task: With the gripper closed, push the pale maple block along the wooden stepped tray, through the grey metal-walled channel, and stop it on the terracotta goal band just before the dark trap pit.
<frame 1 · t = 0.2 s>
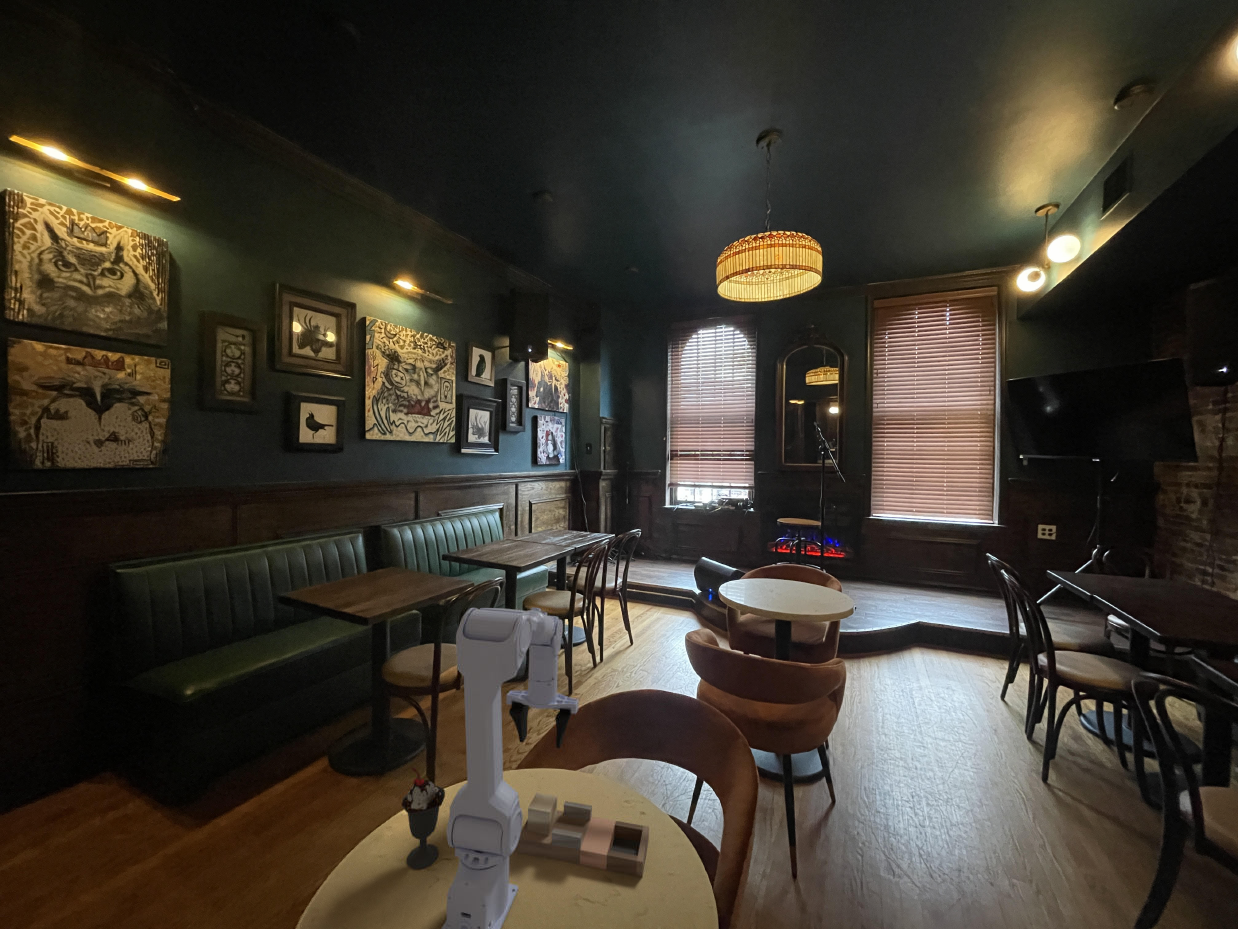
hand: (541, 742, 98), 10 cm above the table, tool pointing down, fingers open, 7 cm apart
wooden stepped tray: (584, 846, 85), on the table
block: (542, 824, 86), point 2 cm above the table, touching wooden stepped tray
sundae: (422, 858, 82), on the table
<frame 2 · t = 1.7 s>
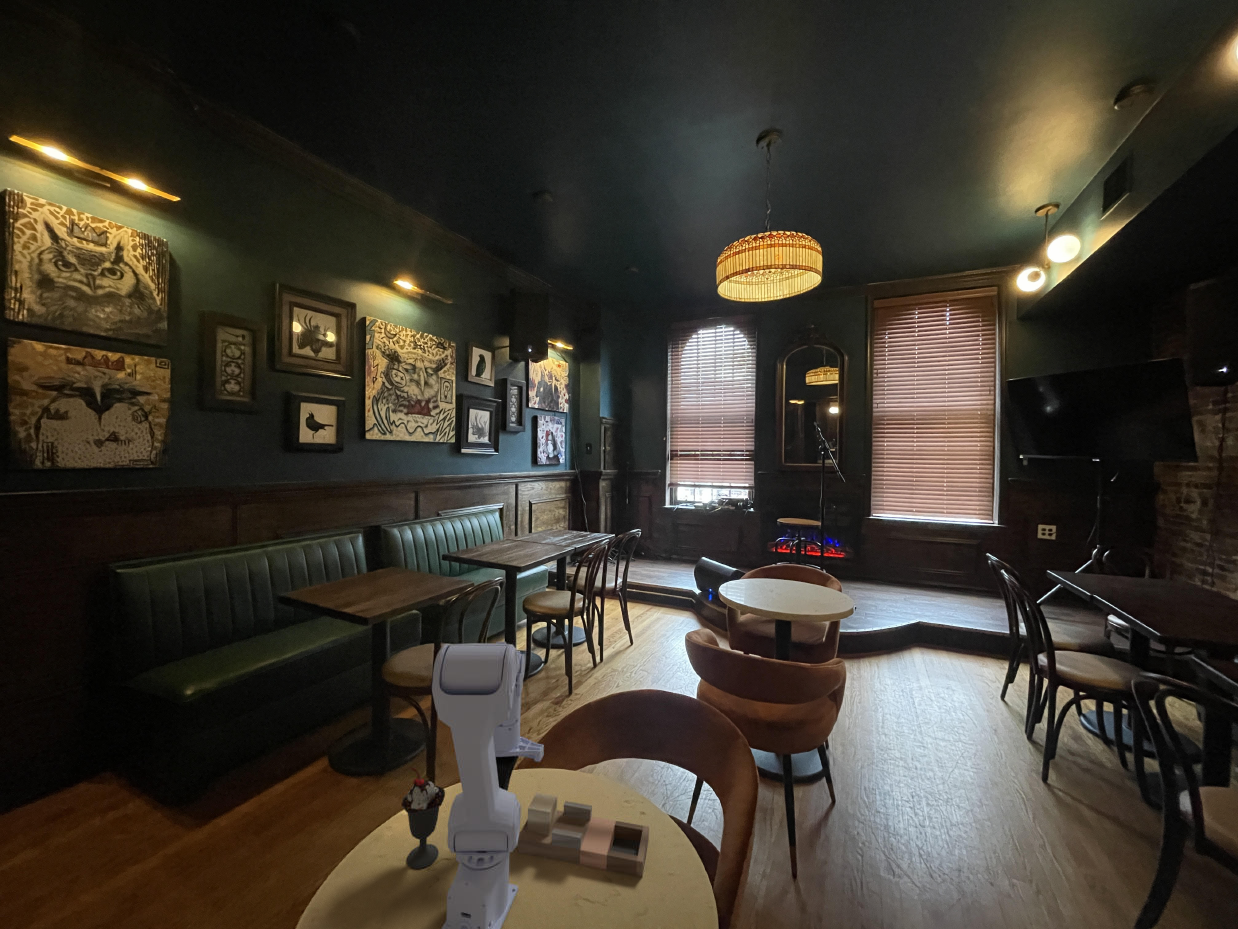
hand: (502, 792, 88), 7 cm above the table, tool pointing down, fingers closed
nothing on the table moved.
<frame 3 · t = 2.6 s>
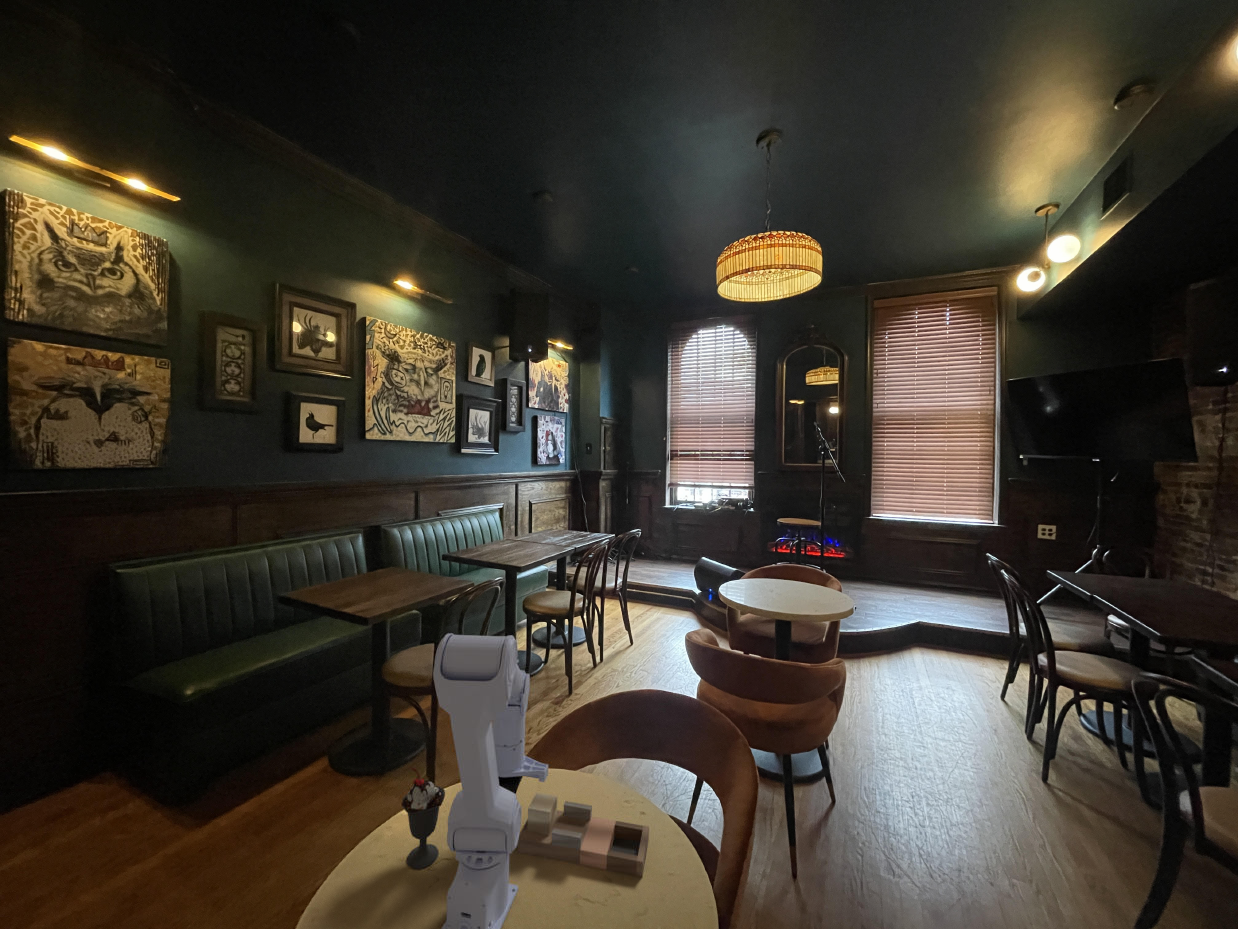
hand: (506, 812, 88), 3 cm above the table, tool pointing down, fingers closed
nothing on the table moved.
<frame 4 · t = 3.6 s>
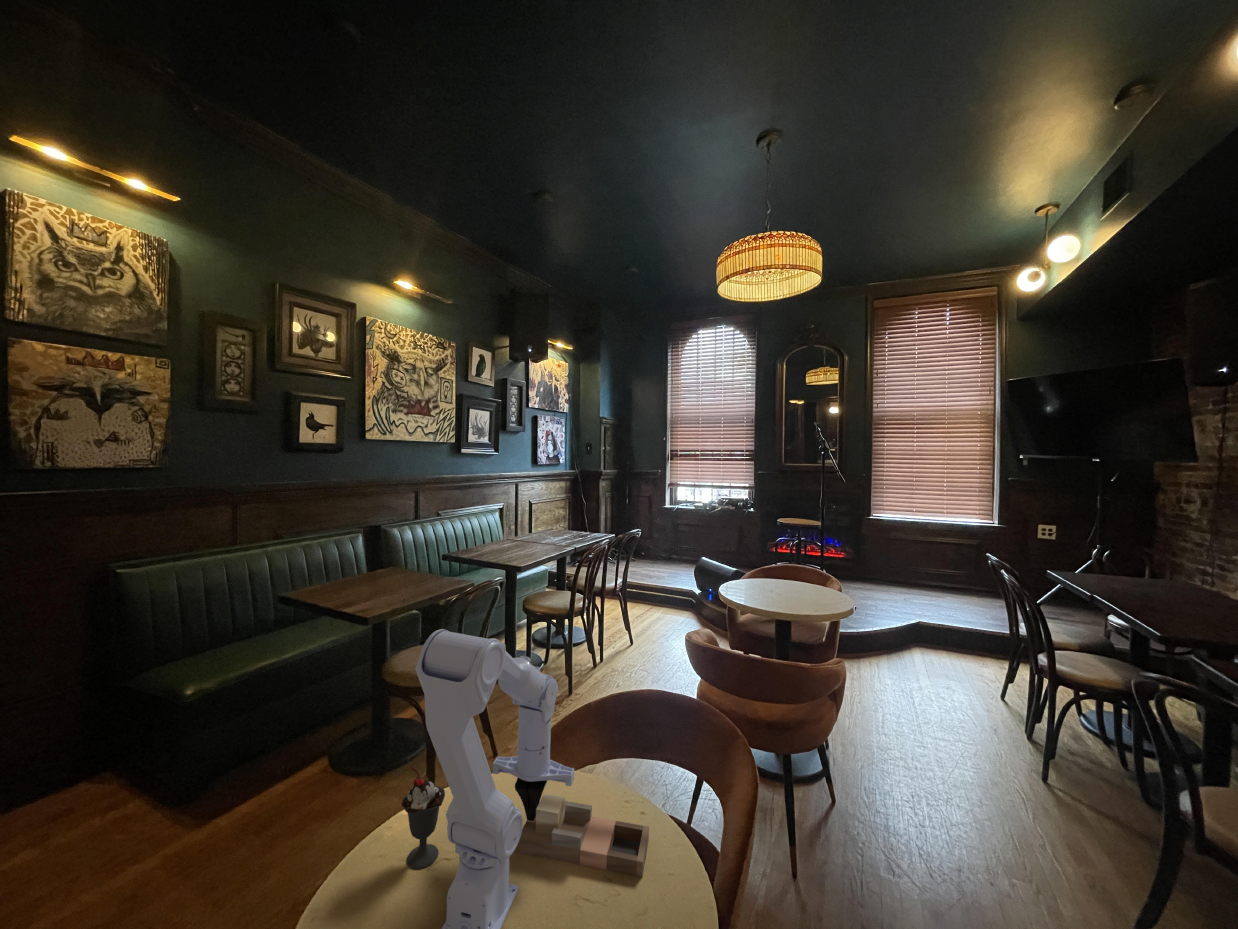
hand: (532, 816, 87), 4 cm above the table, tool pointing down, fingers closed
block: (550, 825, 86), point 2 cm above the table, touching gripper, wooden stepped tray
everything else where it was.
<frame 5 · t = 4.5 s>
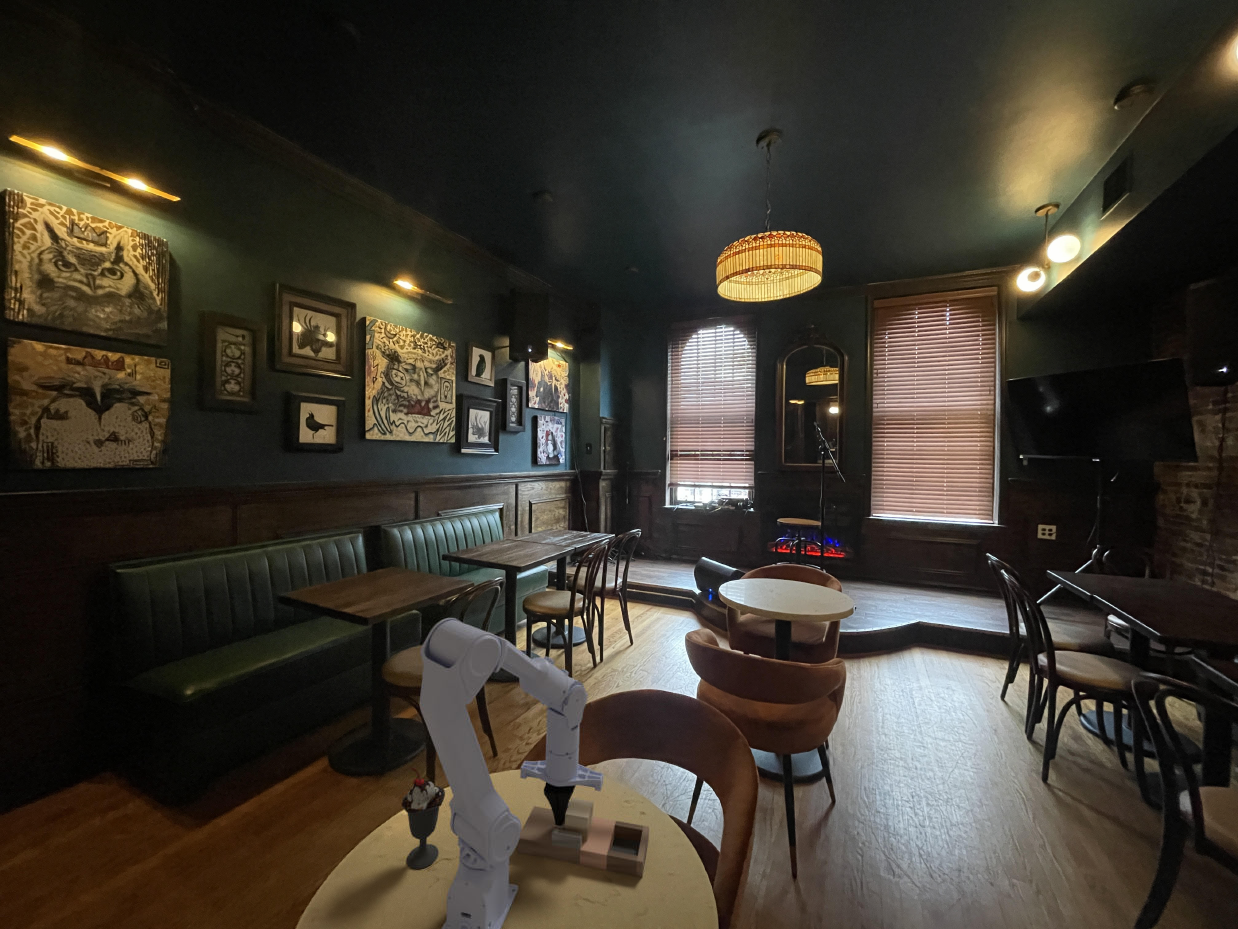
hand: (560, 821, 86), 4 cm above the table, tool pointing down, fingers closed
block: (578, 830, 85), point 3 cm above the table, touching gripper
everything else where it was.
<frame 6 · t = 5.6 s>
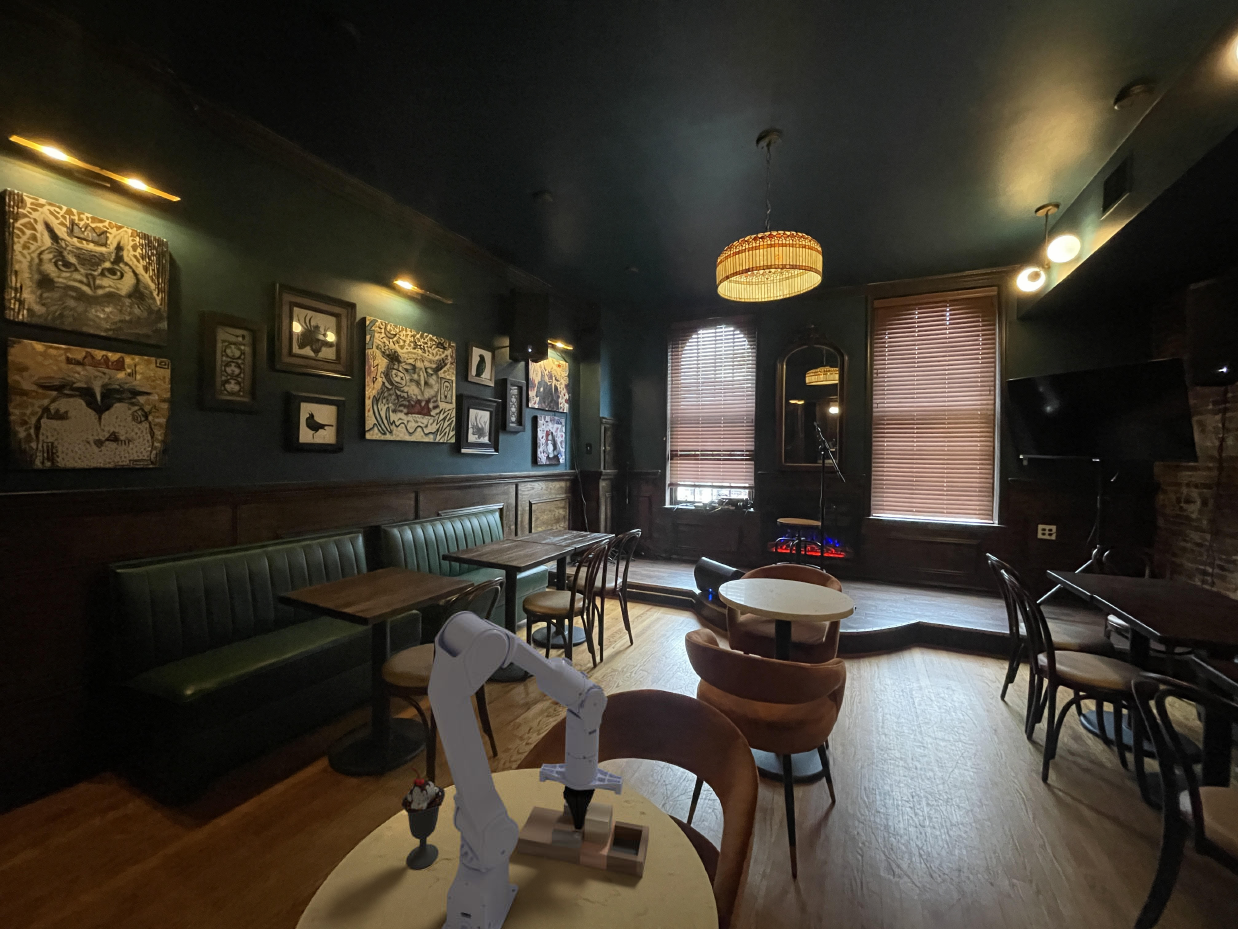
hand: (579, 825, 85), 4 cm above the table, tool pointing down, fingers closed
block: (598, 834, 84), point 3 cm above the table, touching gripper, wooden stepped tray
everything else where it was.
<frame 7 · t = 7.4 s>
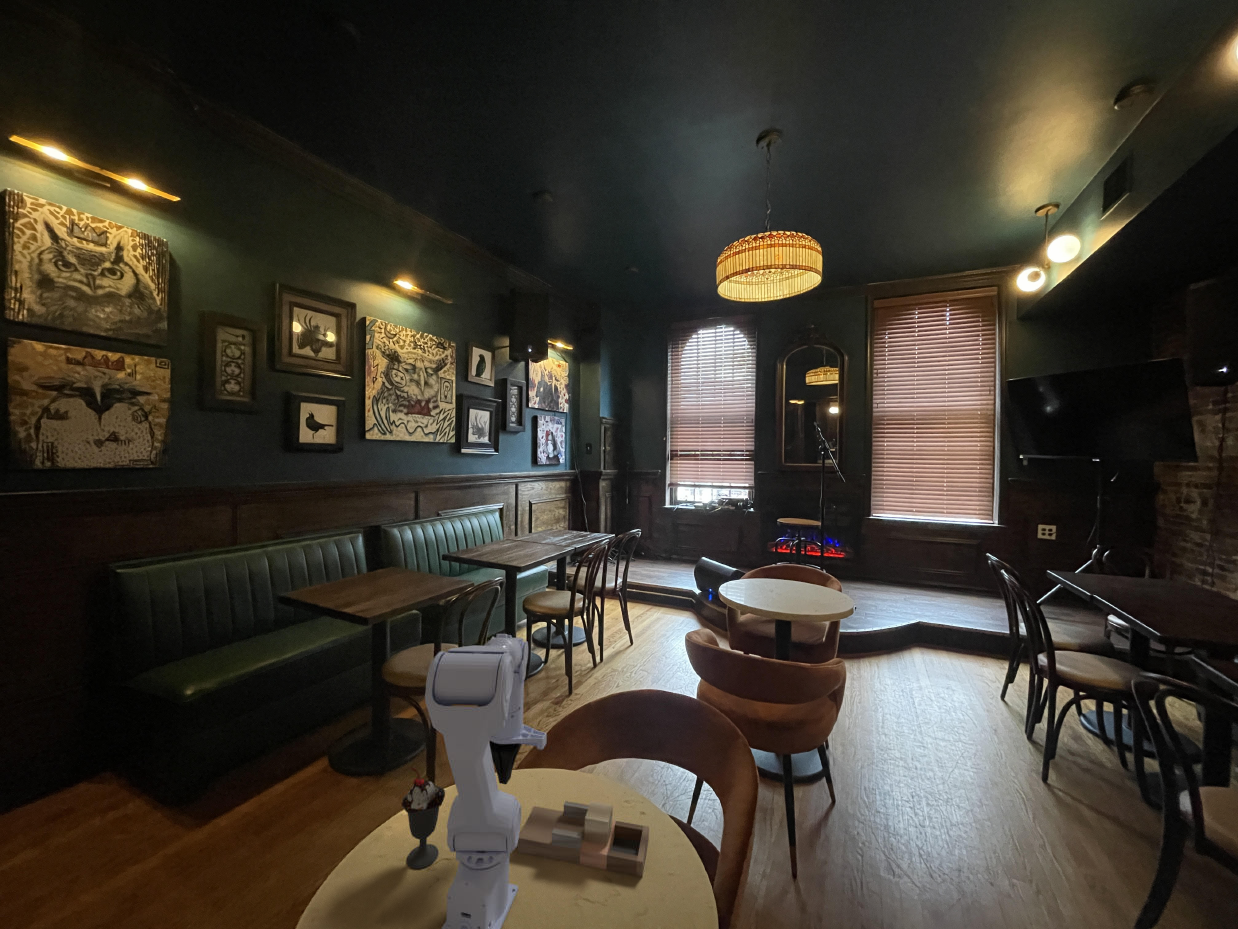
hand: (505, 780, 87), 9 cm above the table, tool pointing down, fingers closed
block: (598, 834, 84), point 2 cm above the table, touching wooden stepped tray
everything else where it was.
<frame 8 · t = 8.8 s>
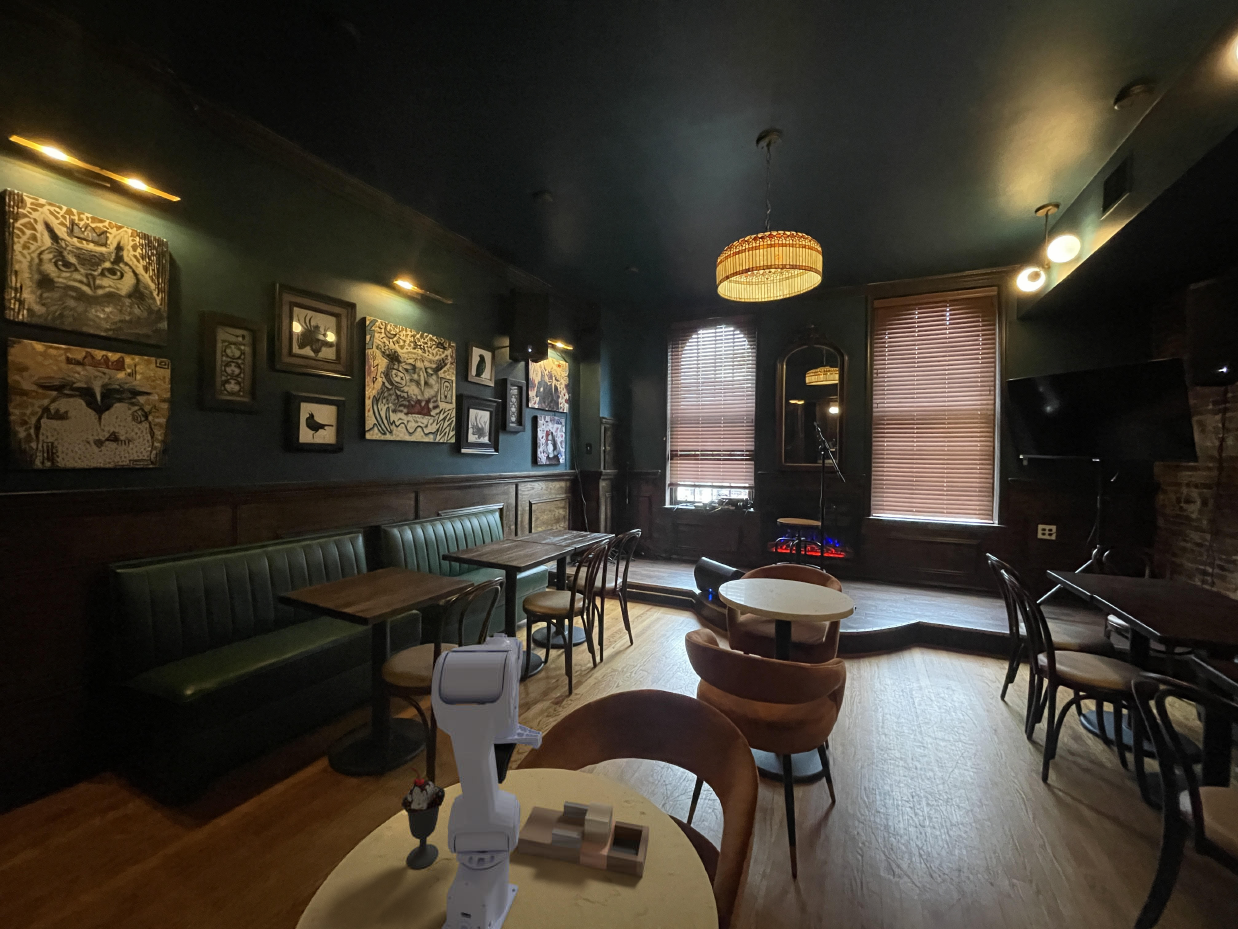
hand: (500, 779, 87), 9 cm above the table, tool pointing down, fingers closed
nothing on the table moved.
at the end: block 0.2 cm from the target spot on the wooden stepped tray, point 2.5 cm above the wooden stepped tray's base; block tilted 0°; block moved 10.2 cm from its start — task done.
